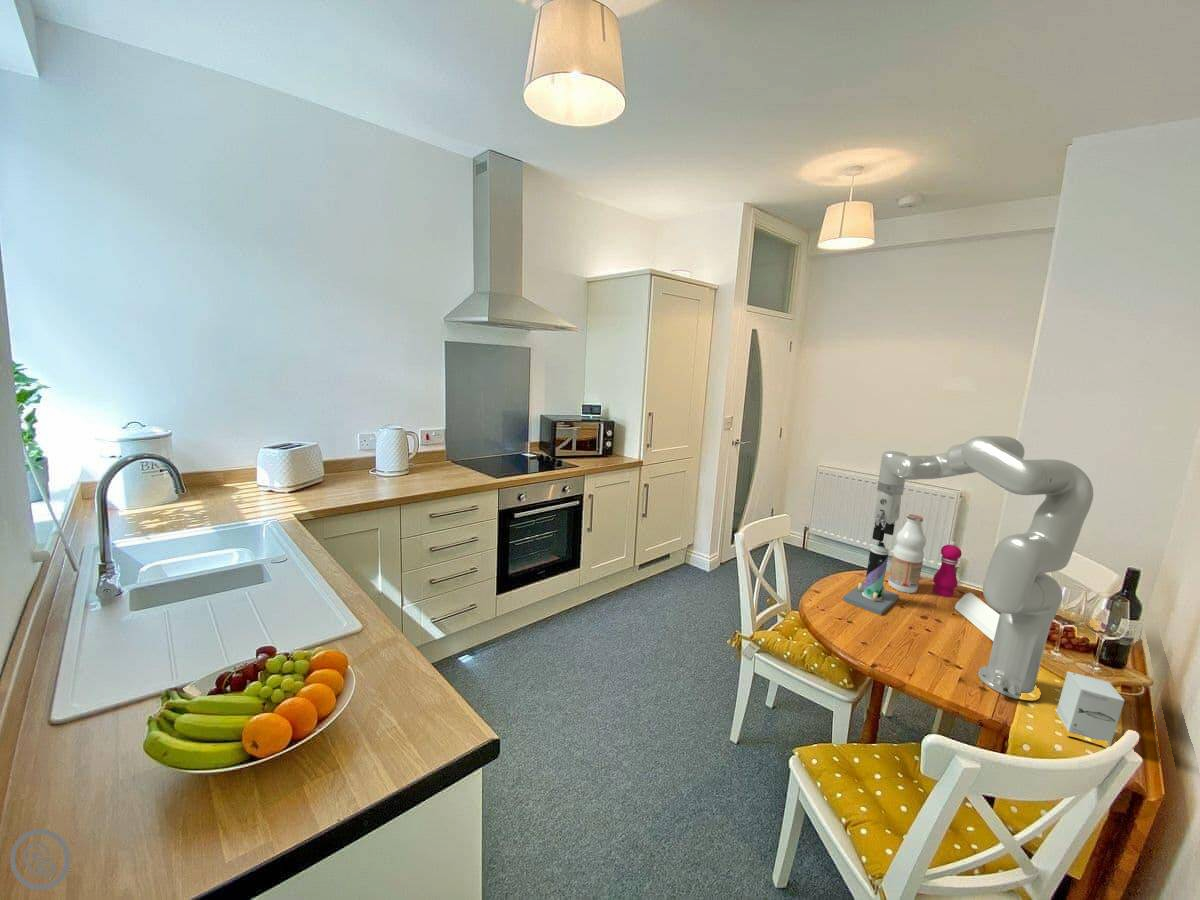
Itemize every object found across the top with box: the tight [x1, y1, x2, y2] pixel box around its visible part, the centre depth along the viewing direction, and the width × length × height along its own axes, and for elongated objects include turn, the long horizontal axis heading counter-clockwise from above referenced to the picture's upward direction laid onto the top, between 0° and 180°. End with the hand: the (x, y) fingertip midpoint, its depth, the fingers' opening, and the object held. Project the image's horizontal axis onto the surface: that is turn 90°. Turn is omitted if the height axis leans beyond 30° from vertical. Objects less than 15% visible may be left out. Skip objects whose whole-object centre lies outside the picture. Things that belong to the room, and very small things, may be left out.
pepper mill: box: [932, 541, 962, 598], centre depth 172 cm, size 7×7×20 cm
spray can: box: [863, 540, 890, 600], centre depth 163 cm, size 6×6×20 cm
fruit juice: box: [887, 513, 927, 594], centre depth 173 cm, size 9×9×28 cm
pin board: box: [842, 581, 900, 616], centre depth 165 cm, size 18×12×4 cm, turn 132°
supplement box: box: [1055, 670, 1125, 749], centre depth 107 cm, size 7×7×13 cm
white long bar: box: [954, 592, 1000, 642], centre depth 151 cm, size 7×7×24 cm
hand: (882, 536), depth 161 cm, fingers open, 9 cm apart
